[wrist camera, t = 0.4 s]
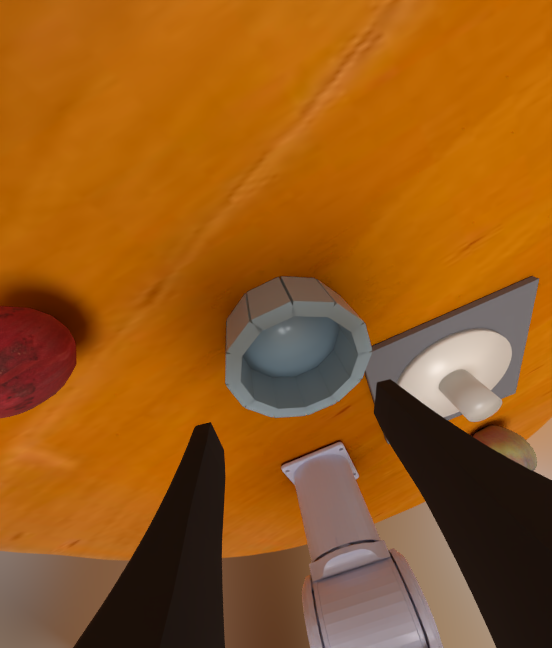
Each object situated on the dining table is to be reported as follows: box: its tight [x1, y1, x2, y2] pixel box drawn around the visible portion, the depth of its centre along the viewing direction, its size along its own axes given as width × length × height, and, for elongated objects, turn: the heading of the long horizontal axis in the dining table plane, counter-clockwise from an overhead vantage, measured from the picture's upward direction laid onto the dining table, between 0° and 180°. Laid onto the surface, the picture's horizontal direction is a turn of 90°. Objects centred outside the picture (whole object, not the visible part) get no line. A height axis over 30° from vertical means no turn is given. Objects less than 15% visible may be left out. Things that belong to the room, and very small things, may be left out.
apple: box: [473, 425, 537, 471], centre depth 32 cm, size 6×8×6 cm
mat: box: [365, 276, 539, 444], centre depth 26 cm, size 16×16×1 cm
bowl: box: [225, 276, 372, 418], centre depth 19 cm, size 10×10×4 cm
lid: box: [397, 328, 512, 422], centre depth 24 cm, size 12×12×4 cm
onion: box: [0, 306, 76, 418], centre depth 13 cm, size 6×6×8 cm
